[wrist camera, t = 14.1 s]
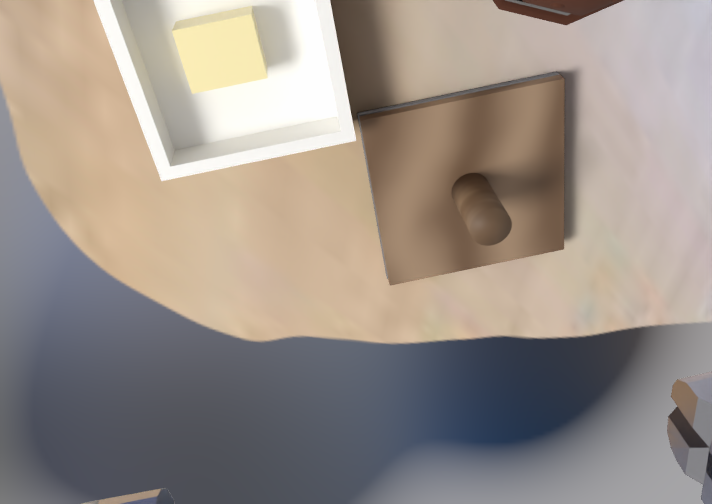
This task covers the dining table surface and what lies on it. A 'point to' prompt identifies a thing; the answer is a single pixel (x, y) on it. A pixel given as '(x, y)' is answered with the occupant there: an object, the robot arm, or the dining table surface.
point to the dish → (238, 107)
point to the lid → (468, 178)
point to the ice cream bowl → (555, 8)
